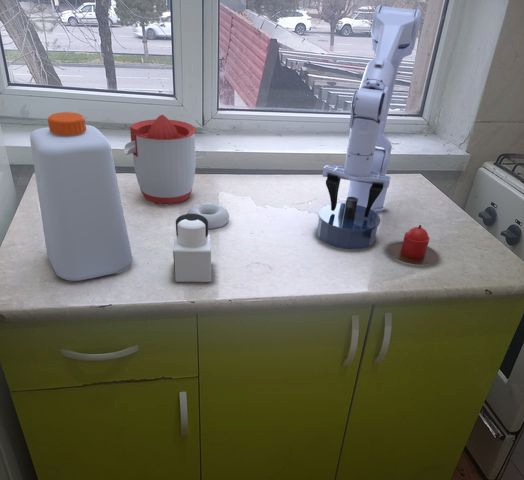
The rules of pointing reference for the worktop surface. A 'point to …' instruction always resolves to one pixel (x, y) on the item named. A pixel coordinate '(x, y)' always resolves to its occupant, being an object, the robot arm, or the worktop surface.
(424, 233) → the red rubber stopper
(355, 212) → the lid
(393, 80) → the robot arm
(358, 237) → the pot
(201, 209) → the donut
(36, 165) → the plastic bottle
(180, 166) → the citrus juicer
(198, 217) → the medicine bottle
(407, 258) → the coaster
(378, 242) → the worktop surface
